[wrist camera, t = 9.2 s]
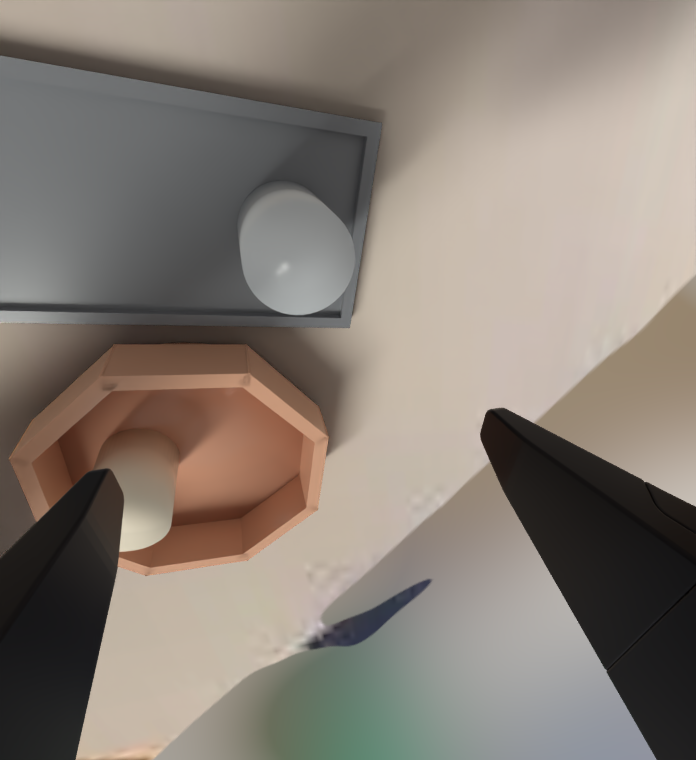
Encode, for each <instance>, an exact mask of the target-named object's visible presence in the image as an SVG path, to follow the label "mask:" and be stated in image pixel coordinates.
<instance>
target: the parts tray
mask: <svg viewBox="0 0 696 760" xmlns="http://www.w3.org/2000/svg"><path fill="white" fill-rule="evenodd" d="M381 129H382V123H379V122H373V121H367V120H362V119H356V118H351V117H345V116H339V115H334V114H328V113H322V112H317V111H311V110H305V109H300V108H294V107H288V106H283V105H277V104H271V103H266V102H260V101H255V100H249V99H243V98H238V97H232V96H226V95H221V94H215V93H209V92H204V91H198V90H192V89H187V88H181V87H176V86H170V85H164V84H159V83H153V82H147V81H142V80H136V79H130V78H125V77H119V76H113V75H108V74H102V73H96V72H91V71H85V70H80V69H74V68H68V67H63V66H57V65H51V64H46V63H40V62H34V61H29V60H23V59H17V58H12V57H6V56H1V55H0V323H46V324H114V325H182V326H249V327H317V328H350V324H351V317H352V311H353V305H354V298H355V292H356V286H357V280H358V273H359V267H360V261H361V254H362V248H363V242H364V236H365V229H366V223H367V217H368V210H369V204H370V198H371V191H372V185H373V179H374V173H375V166H376V160H377V154H378V147H379V141H380V135H381ZM278 180H284V181H291V182H295V183H298V184H300V185H302V186H304V187H306V188H307V189H308V190H310V191H311V192H312V193H313V194H314V195H315V196H316V197H317V198H318V199H320V200H321V201H322V202H323V203H324V204H325V205H326V206H327V207H328V208H329V209H330V210H331V211H332V212H333V213H334V214H335V215H336V216H337V217H338V218H340V220H341V221H342V222H343V223H344V224H345V226H346V228H347V229H348V231H349V233H350V235H351V237H352V241H353V244H354V249H355V266H354V271H353V275H352V277H351V280H350V282H349V284H348V286H347V288H346V289H345V291H344V292H343V293H342V295H341V296H340V297H339V298H338V299H337V300H336V301H335V302H333V303H332V304H331V305H329V306H328V307H326V308H324V309H322V310H320V311H318V312H315V313H311V314H305V315H289V314H285V313H281V312H278V311H275V310H273V309H271V308H269V307H268V306H266V305H265V304H264V303H262V302H261V301H260V300H259V299H258V298H257V297H256V296H255V295H254V294H253V292H252V291H251V289H250V288H249V286H248V284H247V282H246V279H245V276H244V273H243V268H242V262H241V254H240V247H239V239H238V231H237V221H238V215H239V212H240V209H241V206H242V204H243V202H244V201H245V199H246V198H247V197H248V195H249V194H250V193H251V192H252V191H254V190H255V189H256V188H257V187H259V186H261V185H263V184H265V183H268V182H272V181H278Z"/></svg>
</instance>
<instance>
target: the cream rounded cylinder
mask: <svg viewBox="0 0 696 760" xmlns="http://www.w3.org/2000/svg"><path fill="white" fill-rule="evenodd" d="M178 465H179V450H178V447H177V446H176V444H175V443H174V442H173V441H172V440H171V439H170V438H169V437H167V436H166V435H164V434H162V433H159V432H157V431H153V430H148V429H129V430H124V431H121V432H118V433H116V434H114V435H112V436H110V437H109V438H108V439H107V440H106V441H105V442H104V443H103V444H102V446H101V448H100V451H99V454H98V456H97V459H96V462H95V465H94V468H93V470H98V469H104V468H109V469H111V470H112V471H113V473H114V475H115V477H116V479H117V481H118V483H119V485H120V487H121V489H122V491H123V494H124V509H123V519H122V530H121V540H120V550H119V552H126V551H134V550H139V549H143V548H146V547H149V546H151V545H153V544H155V543H157V542H158V541H160V540H161V539H163V538H164V537H165V536H166V535H167V533H168V532H169V530H170V528H171V523H172V515H173V507H174V498H175V490H176V482H177V474H178Z"/></svg>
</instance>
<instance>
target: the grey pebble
mask: <svg viewBox="0 0 696 760" xmlns="http://www.w3.org/2000/svg"><path fill="white" fill-rule="evenodd" d="M237 231H238V239H239V247H240V254H241V262H242V268H243V273H244V276H245V279H246V282H247V284H248V286H249V288H250V289H251V291H252V292H253V294H254V295H255V296H256V297H257V298H258V299H259V300H260V301H261V302H262V303H264V304H265V305H266V306H268V307H269V308H271V309H273V310H275V311H278V312H281V313H285V314H289V315H305V314H311V313H315V312H318V311H320V310H322V309H324V308H326V307H328V306H329V305H331V304H332V303H333V302H335V301H336V300H337V299H338V298H339V297H340V296H341V295H342V293H343V292H344V291H345V289H346V288H347V286H348V284H349V282H350V280H351V277H352V275H353V271H354V266H355V249H354V244H353V241H352V237H351V235H350V233H349V231H348V229H347V228H346V226H345V224H344V223H343V222H342V221H341V220H340V218H338V217H337V216H336V215H335V214H334V213H333V212H332V211H331V210H330V209H329V208H328V207H327V206H326V205H325V204H324V203H323V202H322V201H321V200H320V199H318V198H317V197H316V196H315V195H314V194H313V193H312V192H311V191H310V190H308V189H307V188H306V187H304V186H302V185H300V184H298V183H295V182H291V181H284V180H278V181H272V182H268V183H265V184H263V185H261V186H259V187H257V188H256V189H255V190H254V191H252V192H251V193H250V194H249V195H248V197H247V198H246V199H245V201H244V202H243V204H242V206H241V209H240V212H239V215H238V221H237Z"/></svg>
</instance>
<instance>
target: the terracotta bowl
mask: <svg viewBox="0 0 696 760" xmlns="http://www.w3.org/2000/svg"><path fill="white" fill-rule="evenodd" d="M129 429H148V430H153V431H157V432H159V433H162V434H164V435H166V436H167V437H169V438H170V439H171V440H172V441H173V442H174V443H175V444H176V446H177V447H178V450H179V465H178V474H177V482H176V490H175V498H174V507H173V515H172V523H171V528H170V530H169V532H168V533H167V535H166V536H165V537H164V538H163V539H161V540H160V541H158V542H157V543H155V544H153V545H151V546H149V547H146V548H143V549H139V550H134V551H126V552H119V560H118V567H121V568H124V569H127V570H130V571H133V572H136V573H139V574H142V575H145V576H148V575H155V574H161V573H168V572H174V571H181V570H187V569H194V568H201V567H207V566H214V565H220V564H227V563H233V562H240V561H247V560H249V559H250V558H252V557H253V556H254V555H256V554H257V553H258V552H260V551H261V550H263V549H264V548H265V547H267V546H268V545H270V544H271V543H272V542H274V541H275V540H276V539H278V538H279V537H281V536H282V535H283V534H285V533H286V532H288V531H289V530H290V529H292V528H293V527H294V526H296V525H297V524H299V523H300V522H301V521H303V520H304V519H306V518H307V517H308V516H310V515H311V514H312V513H314V512H315V511H317V510H318V504H319V497H320V491H321V484H322V478H323V471H324V464H325V458H326V451H327V445H328V439H329V436H328V432H327V429H326V426H325V423H324V420H323V417H322V414H321V411H320V408H319V406H317V405H316V404H315V403H314V402H313V401H311V400H310V399H309V398H308V397H307V396H306V395H304V394H303V393H302V392H301V391H300V390H299V389H297V388H296V387H295V386H294V385H293V384H292V383H290V382H289V381H288V380H287V379H286V378H285V377H284V376H282V375H281V374H280V373H279V372H278V371H277V370H275V369H274V368H273V367H272V366H271V365H270V364H268V363H267V362H266V361H265V360H264V359H263V358H261V357H260V356H259V355H258V354H257V353H256V352H254V351H253V350H252V349H251V348H250V347H249V346H248V344H204V343H188V342H181V343H164V344H113V346H112V347H111V348H110V349H109V350H108V351H107V352H106V353H105V354H104V355H102V356H101V357H100V358H99V359H98V360H97V361H96V362H95V363H94V364H93V365H92V366H91V367H89V368H88V369H87V370H86V371H85V372H84V373H83V374H82V375H81V376H80V377H79V378H78V379H76V380H75V381H74V382H73V383H72V384H71V385H70V386H69V387H68V388H67V389H66V390H65V391H63V392H62V393H61V394H60V395H59V396H58V397H57V398H56V399H55V400H54V401H53V402H52V403H50V404H49V405H48V406H47V407H46V408H45V409H44V410H43V411H42V412H41V413H40V414H38V415H37V416H36V417H35V418H33V419H32V421H31V422H30V424H29V426H28V427H27V429H26V431H25V432H24V434H23V435H22V437H21V439H20V440H19V442H18V444H17V445H16V447H15V449H14V450H13V452H12V454H11V455H10V457H9V461H10V462H11V465H12V467H13V469H14V471H15V474H16V476H17V478H18V481H19V483H20V485H21V488H22V490H23V492H24V495H25V497H26V499H27V501H28V504H29V506H30V508H31V511H32V513H33V515H34V518H35V520H36V522H37V521H38V520H39V519H40V518H41V517H42V516H43V515H44V514H45V513H46V512H47V511H48V510H49V509H50V508H51V507H52V506H53V505H54V504H55V503H56V502H57V501H58V500H59V499H60V498H61V497H62V496H63V495H64V494H65V493H66V492H67V491H68V490H69V489H70V488H71V487H72V486H73V485H74V484H75V483H76V482H78V481H79V480H80V479H81V478H82V477H83V476H84V475H85V474H86V473H87V472H89V471H91V470H93V468H94V465H95V462H96V459H97V456H98V454H99V451H100V448H101V446H102V444H103V443H104V442H105V441H106V440H107V439H108V438H109V437H110V436H112V435H114V434H116V433H118V432H121V431H124V430H129Z"/></svg>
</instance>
